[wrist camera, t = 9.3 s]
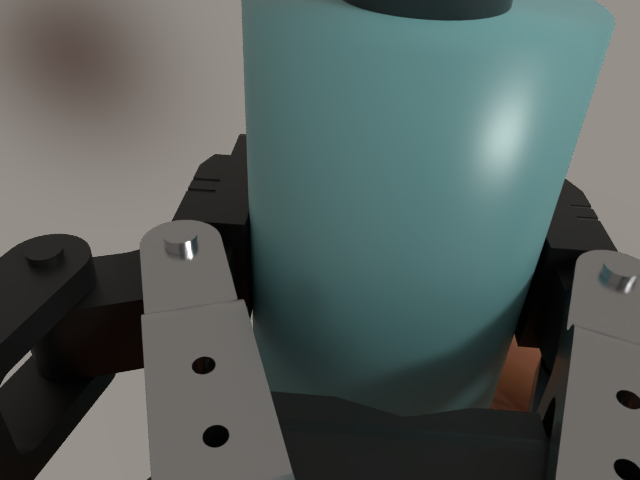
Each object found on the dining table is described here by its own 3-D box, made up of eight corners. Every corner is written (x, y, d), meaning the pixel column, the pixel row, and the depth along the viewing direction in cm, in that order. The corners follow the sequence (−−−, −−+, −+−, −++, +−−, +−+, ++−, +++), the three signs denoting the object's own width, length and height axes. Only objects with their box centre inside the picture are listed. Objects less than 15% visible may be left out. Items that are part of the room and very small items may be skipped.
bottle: (426, 402, 17) (557, -173, 9) (480, 579, 13) (798, -168, 5) (257, 412, 17) (238, -190, 9) (260, 599, 13) (228, -196, 5)
